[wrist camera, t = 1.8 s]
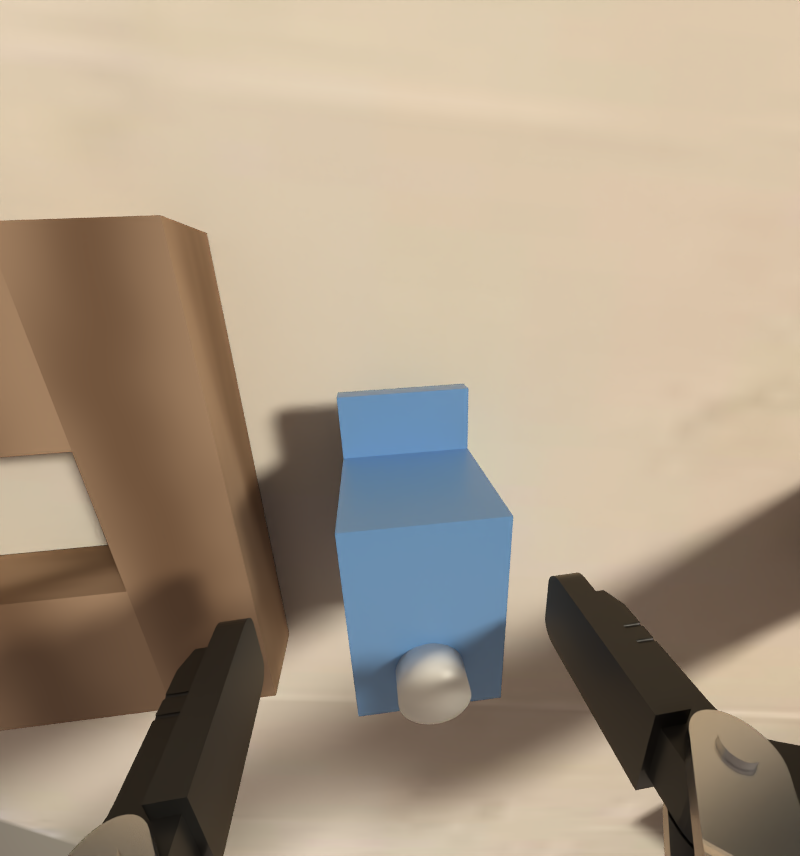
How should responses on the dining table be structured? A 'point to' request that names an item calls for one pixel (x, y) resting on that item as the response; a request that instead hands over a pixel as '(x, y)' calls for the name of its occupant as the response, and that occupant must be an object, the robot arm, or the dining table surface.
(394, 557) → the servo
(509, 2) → the dining table surface
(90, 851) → the robot arm
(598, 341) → the dining table surface
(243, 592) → the board
